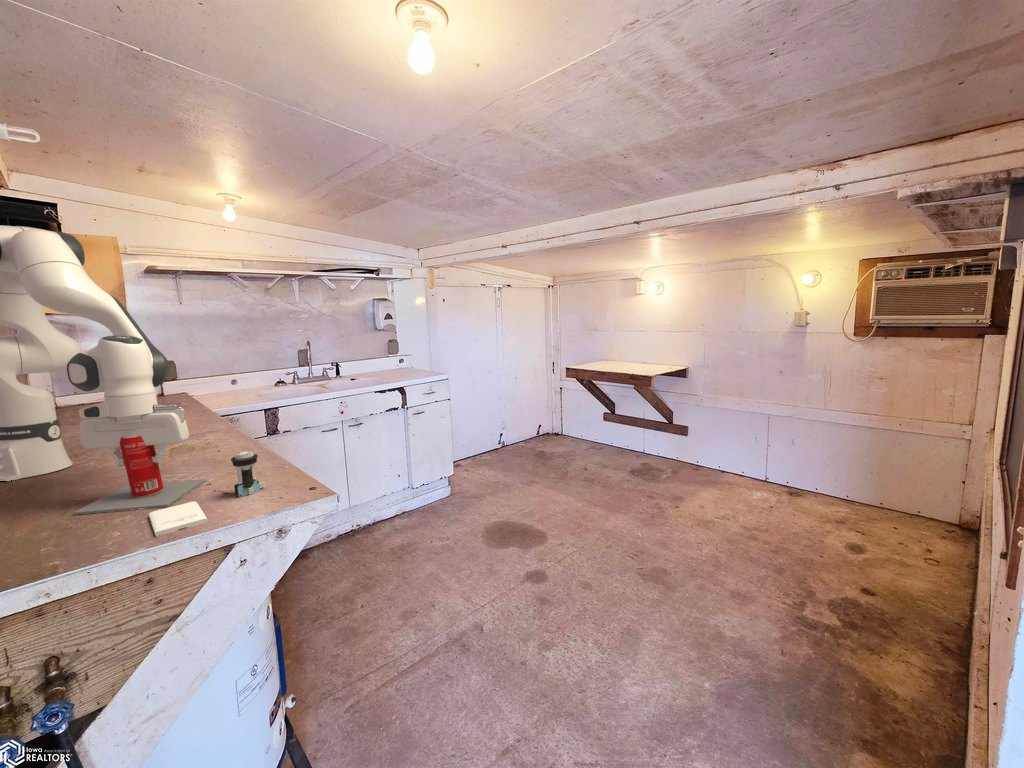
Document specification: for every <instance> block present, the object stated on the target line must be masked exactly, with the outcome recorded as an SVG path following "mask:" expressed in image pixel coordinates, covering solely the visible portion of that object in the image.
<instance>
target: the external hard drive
mask: <svg viewBox="0 0 1024 768" xmlns="http://www.w3.org/2000/svg"><path fill="white" fill-rule="evenodd" d="M148 518H150V519H149V521H151V522H150V524H151V526H152V527H151V528H152V530H153V532H154V536H155V537H156V536H157V537H159V535H160V536H163V534H164V535H167V533H168V534H170V532H171V533H173V532H174V533H175V532H178V531H180V530H184V529H188V527H189V528H191V527H197V526H199V525H202V524H206V523H208V518H207V515H205V513H204V511H203V510H202V508H201V507H200V505H199V504H198V502H197V501H189V502H186V503H182V504H178V505H174V506H169V507H164V508H160V509H158V510H153V511H151V512H149V513H148ZM183 528H184V529H183Z"/></svg>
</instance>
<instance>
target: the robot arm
mask: <svg viewBox="0 0 1024 768" xmlns="http://www.w3.org/2000/svg"><path fill="white" fill-rule="evenodd" d="M85 257H86V256H85V250H84V247H83V245H82V243H81V242H80V241H79V239H77V238H76V237H75V236H74V235H73V234H69V233H67V232H62V231H58V230H47V229H42V228H36V227H31V226H22V225H21V226H20V225H16V226H13V225H3V224H2V225H0V326H4V327H8V328H11V329H14V330H15V331H17V333H15V334H1V335H0V481H7V482H11V480H12V481H16V480H20V479H25V478H30V477H35V476H36V477H37V476H40V475H45V474H51V473H53V472H56V471H60V470H63V469H66V468H68V467H71V466H73V464H74V463H73V461H72V460H71V459H70V457H69V455H68V452H67V450H66V448H65V446H64V443H63V439H62V427H61V422H60V419H58V418H57V411H56V405H55V401H54V400H55V399H54V396H53V394H51V392H50V391H48V390H46V389H44V388H42V387H37V386H33V385H29V384H25V383H22V382H20V381H18V378H17V376H18V375H19V376H20V375H25V374H26V375H28V374H29V375H30V374H41V373H42V374H44V373H45V374H46V373H55V372H62V371H65V370H66V372H67V373H66V374H67V378H68V381H69V382H70V384H72V385H73V386H74V387H75V388H77V389H78V390H80V391H83V392H85V393H87V392H88V393H89V392H90V393H99V392H104V395H103V398H104V401H101V402H97V403H96V404H93V405H90V406H86V407H82V408H80V409H79V410H78V415H79V417H80V418H81V419H82V420H81V421H80V422H79V426H78V427H79V428H78V429H79V430H78V432H79V441H80V444H81V446H82V447H83V448H84V449H85V450H98V449H99V450H100V449H108V450H107V451H108V453H109V455H111V457H112V458H113V459H114V460H115V463H116V466H117V467H121V466H122V467H123V466H124V467H125V464H124V460H123V456H122V451H121V447H120V439H121V438H120V437H133V436H140V435H141V437H142V439H143V440H144V444H145V445H146V446H149V445H154V446H155V450H157V451H156V455H155V456H152V457H151V459H152V463H153V464H155V463H158V464H161V463H163V462H164V454H165V452H166V450H167V449H168V445H176V444H178V445H179V444H181V443H184V442H186V441H187V440H188V439H189V437H190V432H189V427H188V424H187V421H186V413H185V409H184V408H183V407H181V406H179V405H177V404H173V403H172V404H159V403H158V398H157V391H156V388H157V387H159V386H160V385H161V384H163V383H164V382H165V381H166V379H167V378H168V377H169V374H170V372H171V371H170V370H171V366H170V362H169V360H168V358H167V357H166V356H165V355H164V354H163V353H162V352H161V350H159V349H158V348H157V347H156V346H155V345H154V344H153V343H152V342H151V340H150V339H149V338H148V336H147V335H146V334H145V333H144V331H143V330H142V328H141V327H140V326H139V325H138V323H137V321H136V320H135V319H134V318H133V316H132V315H131V314H130V312H129V311H128V310H127V308H126V307H125V306H124V305H123V304H122V303H121V301H119V299H118V298H116V297H115V296H114V295H112V294H110V293H108V292H106V291H105V290H103V289H102V288H101V287H100V286H99V285H98V284H96V283H95V282H94V281H93V280H92V279H91V277H90V276H89V275H88V273H87V272H86V270H85V268H84V265H85V263H86V262H85V261H86V258H85ZM44 308H47V309H50V310H52V311H55V312H58V313H61V314H67V315H71V316H76V317H80V318H83V319H87V320H90V321H94V322H96V323H99V325H102V326H104V327H105V328H106V329H108V330H109V332H110V333H111V334H112V335H107V336H103V337H101V338H99V340H98V343H97V345H95V346H94V347H92V348H90V349H88V350H85V351H83V349H82V347H81V346H80V344H79V343H78V342H77V340H75V339H74V338H72V337H70V336H68V335H66V334H64V333H62V332H60V331H59V330H58V329H57V328H56V327H55V326H53V325H52V324H51V322H50V321H49V320H48V318H47V315H46V313H45V309H44Z"/></svg>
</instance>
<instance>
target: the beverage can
mask: <svg viewBox="0 0 1024 768" xmlns="http://www.w3.org/2000/svg"><path fill="white" fill-rule="evenodd" d="M120 438H121V439H120V447H121V450H120V451H121V453H122V456H123V460H124V464H125V466H124V468H125V473H126V476H127V480H128V484H129V485H130V489H131V493H132V496H133V497H135V498H143V497H148V496H152V495H155V494H157V493H159V492H161V491H162V490H163V483H164V482H163V478H162V474H161V470H160V467H159V466H160V465H159V463H155V464H153V463H152V459H151V457H152V456H155V455H156V453H157V451H156V449H155V445H149V446H146V445H145V444H144V440H143V439H142V437H141V435H140V436H133V437H120Z"/></svg>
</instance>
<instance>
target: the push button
mask: <svg viewBox="0 0 1024 768" xmlns="http://www.w3.org/2000/svg"><path fill="white" fill-rule="evenodd" d="M230 461H231V462H232V466H233V467H236V474H237V482H236V484H234V488H233V489H234V494H235V495H234V496H237V497H239V498H243V497H245V496H248V495H252V494H254V493H258V492H259V491H261V489H262V488H264V487H266V485H265V483H266V481H261V482H260V481H259V480H257V477H256V472H255V471H256V470H255V464H256V463H257V462H258V454H257V453H254V452H253V451H252V450H244V451H239V452H236V453H235V454H234V456H233V457H232V458H231V459H230ZM263 484H264V485H263Z"/></svg>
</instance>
